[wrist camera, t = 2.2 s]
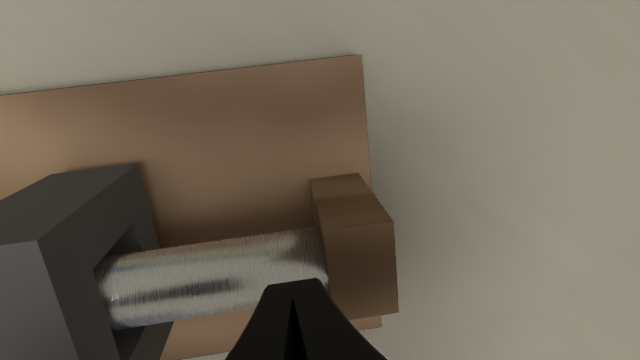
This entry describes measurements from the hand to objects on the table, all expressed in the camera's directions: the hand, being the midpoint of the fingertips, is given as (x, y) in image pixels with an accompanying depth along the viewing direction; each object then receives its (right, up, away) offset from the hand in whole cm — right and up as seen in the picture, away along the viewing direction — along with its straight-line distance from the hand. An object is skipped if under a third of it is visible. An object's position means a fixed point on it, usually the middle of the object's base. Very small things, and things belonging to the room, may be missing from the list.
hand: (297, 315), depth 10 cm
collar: (-7, +1, +5) cm, 9 cm away
